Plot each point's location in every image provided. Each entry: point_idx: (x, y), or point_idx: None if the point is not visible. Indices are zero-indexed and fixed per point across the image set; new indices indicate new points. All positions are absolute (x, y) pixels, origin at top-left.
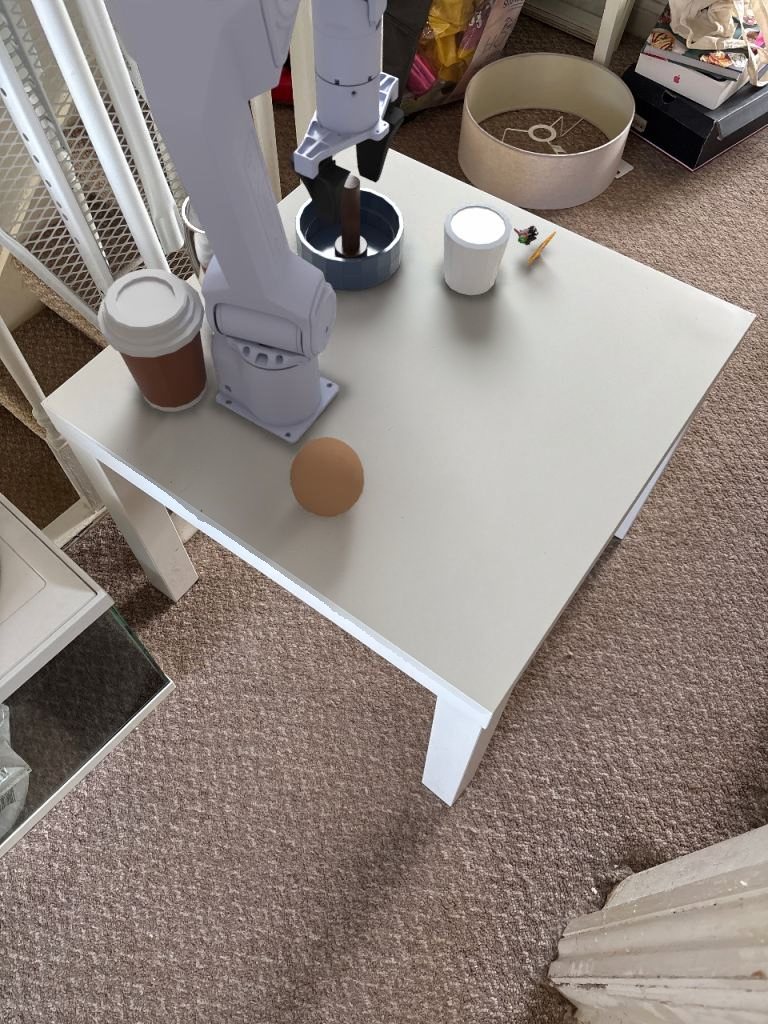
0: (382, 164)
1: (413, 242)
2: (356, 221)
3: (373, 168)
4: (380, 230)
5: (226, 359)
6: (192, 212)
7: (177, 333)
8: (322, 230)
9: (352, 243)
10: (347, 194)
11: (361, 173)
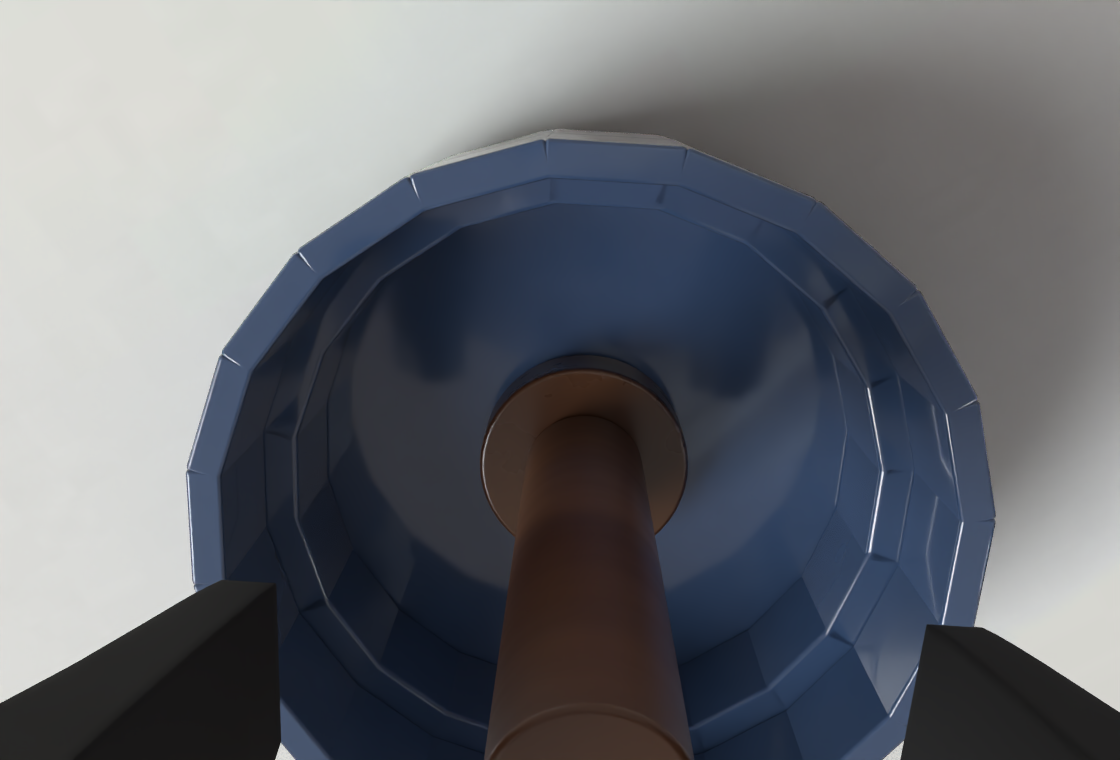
0: (147, 651)
1: (274, 167)
2: (617, 512)
3: (222, 696)
4: (330, 385)
5: None
6: None
7: None
8: None
9: (633, 456)
10: (686, 727)
11: (269, 743)
